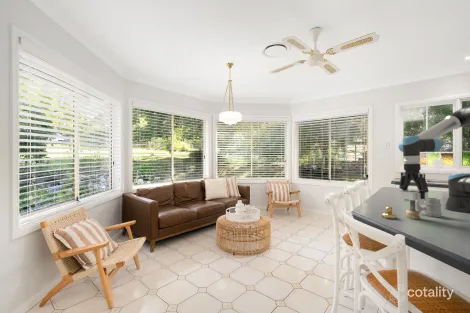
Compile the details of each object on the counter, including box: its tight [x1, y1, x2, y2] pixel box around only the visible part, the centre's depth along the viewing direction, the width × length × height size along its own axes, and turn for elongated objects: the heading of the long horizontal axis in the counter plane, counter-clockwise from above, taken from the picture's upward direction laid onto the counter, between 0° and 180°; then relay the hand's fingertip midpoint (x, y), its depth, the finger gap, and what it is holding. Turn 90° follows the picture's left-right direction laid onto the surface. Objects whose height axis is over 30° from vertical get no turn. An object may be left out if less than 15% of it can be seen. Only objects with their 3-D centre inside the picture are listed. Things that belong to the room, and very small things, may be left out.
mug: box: [415, 197, 443, 218], centre depth 136 cm, size 8×12×12 cm, turn 44°
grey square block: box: [398, 189, 429, 201], centre depth 130 cm, size 9×9×4 cm
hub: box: [381, 206, 398, 220], centre depth 132 cm, size 7×7×6 cm
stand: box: [405, 200, 421, 220], centre depth 130 cm, size 6×6×10 cm
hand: (413, 202), depth 130 cm, fingers closed on grey square block, 9 cm apart
